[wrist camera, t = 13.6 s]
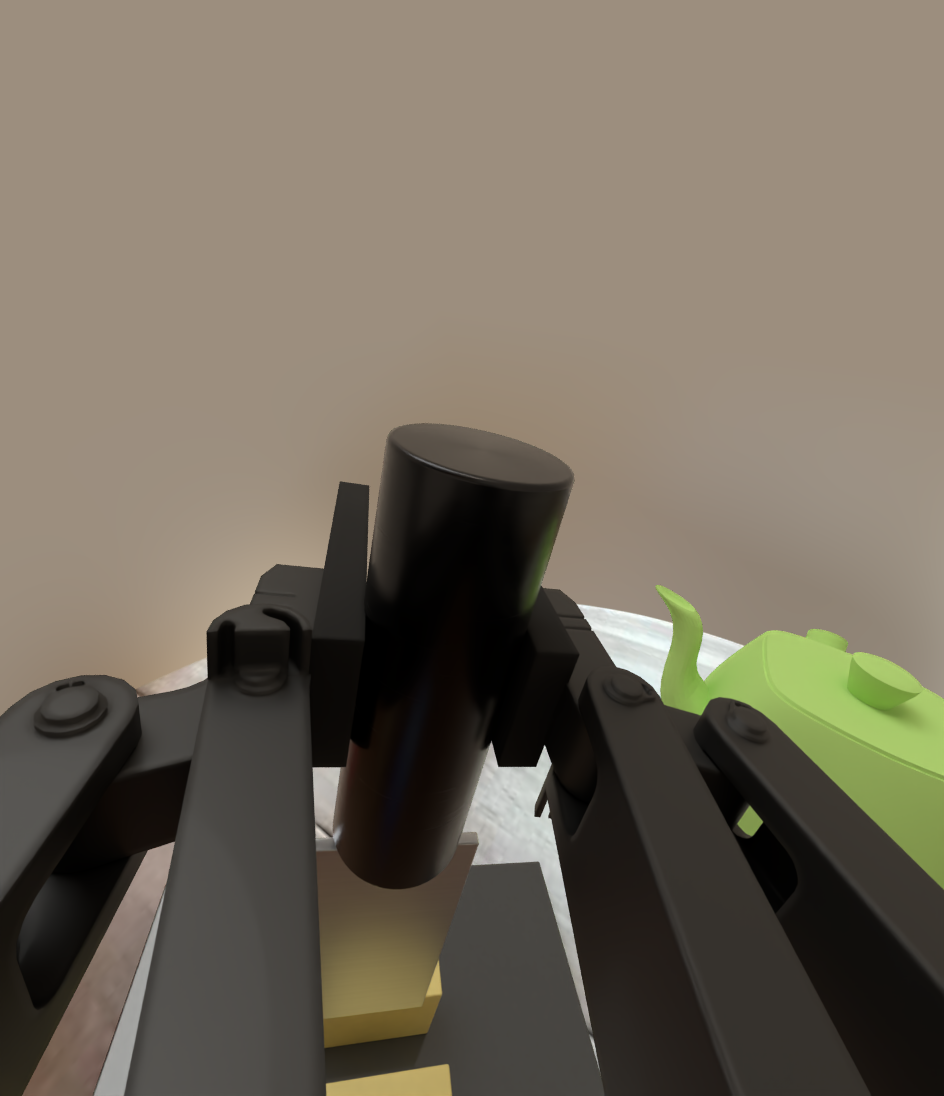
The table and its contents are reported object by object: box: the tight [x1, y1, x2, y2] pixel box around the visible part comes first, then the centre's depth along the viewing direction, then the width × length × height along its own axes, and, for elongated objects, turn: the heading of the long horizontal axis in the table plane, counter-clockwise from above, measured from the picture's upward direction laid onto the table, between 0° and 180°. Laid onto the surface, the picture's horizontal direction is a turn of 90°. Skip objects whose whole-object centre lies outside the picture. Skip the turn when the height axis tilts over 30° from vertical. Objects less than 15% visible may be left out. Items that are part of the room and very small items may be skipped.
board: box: [93, 862, 605, 1096], centre depth 20 cm, size 20×16×2 cm
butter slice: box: [323, 959, 442, 1048], centre depth 21 cm, size 5×2×4 cm, turn 100°
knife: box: [316, 423, 574, 1019], centre depth 11 cm, size 4×3×17 cm
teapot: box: [656, 585, 944, 889], centre depth 36 cm, size 25×22×16 cm
